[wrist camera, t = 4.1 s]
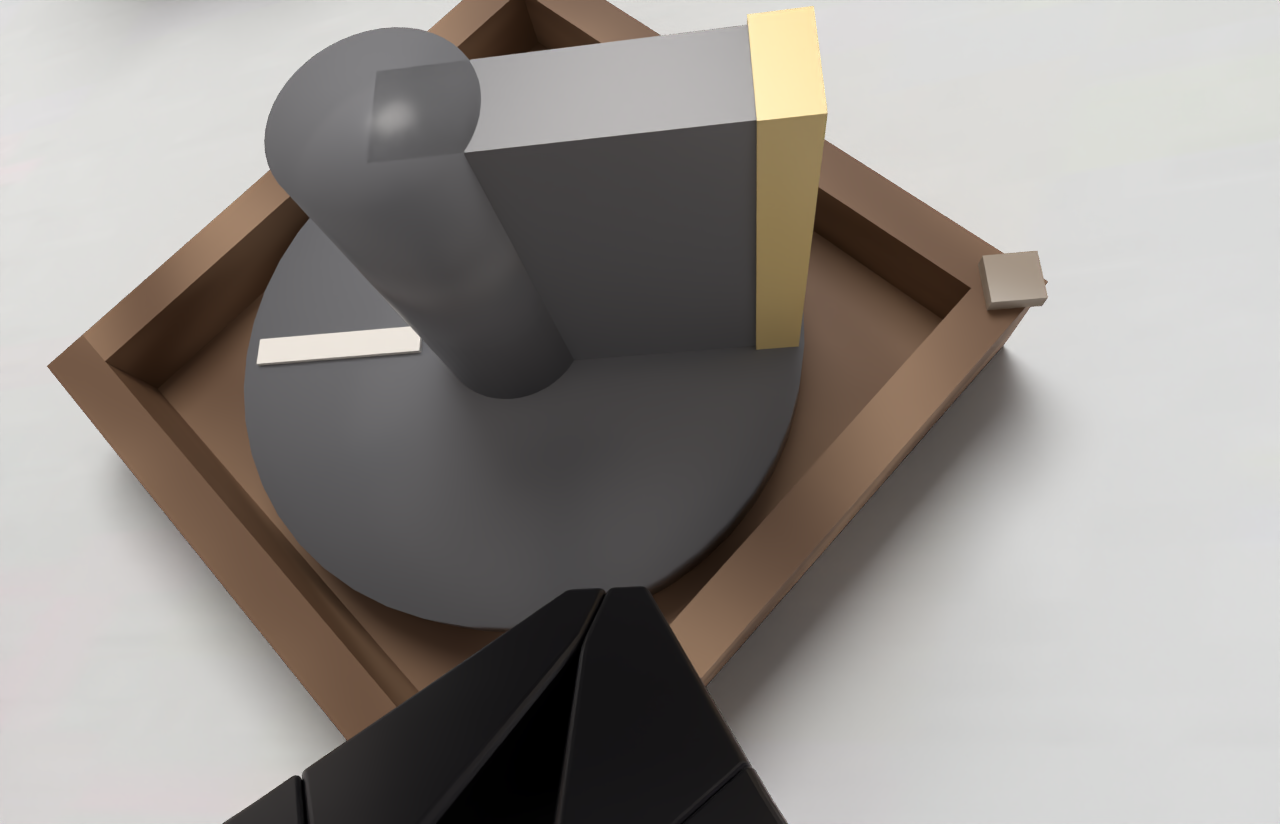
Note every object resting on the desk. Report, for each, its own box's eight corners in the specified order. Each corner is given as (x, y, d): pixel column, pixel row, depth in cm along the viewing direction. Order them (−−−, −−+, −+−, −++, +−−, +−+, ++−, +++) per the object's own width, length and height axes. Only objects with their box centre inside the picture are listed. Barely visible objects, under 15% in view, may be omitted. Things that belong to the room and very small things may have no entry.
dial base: (543, 889, 19) (492, 935, 15) (140, 410, 25) (34, 360, 21) (1017, 343, 22) (1070, 271, 18) (555, 32, 28) (524, -70, 24)
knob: (241, 643, 20) (-178, 596, 11) (308, 161, 25) (57, -141, 16) (829, 620, 18) (901, 543, 9) (776, 109, 23) (790, -263, 14)
